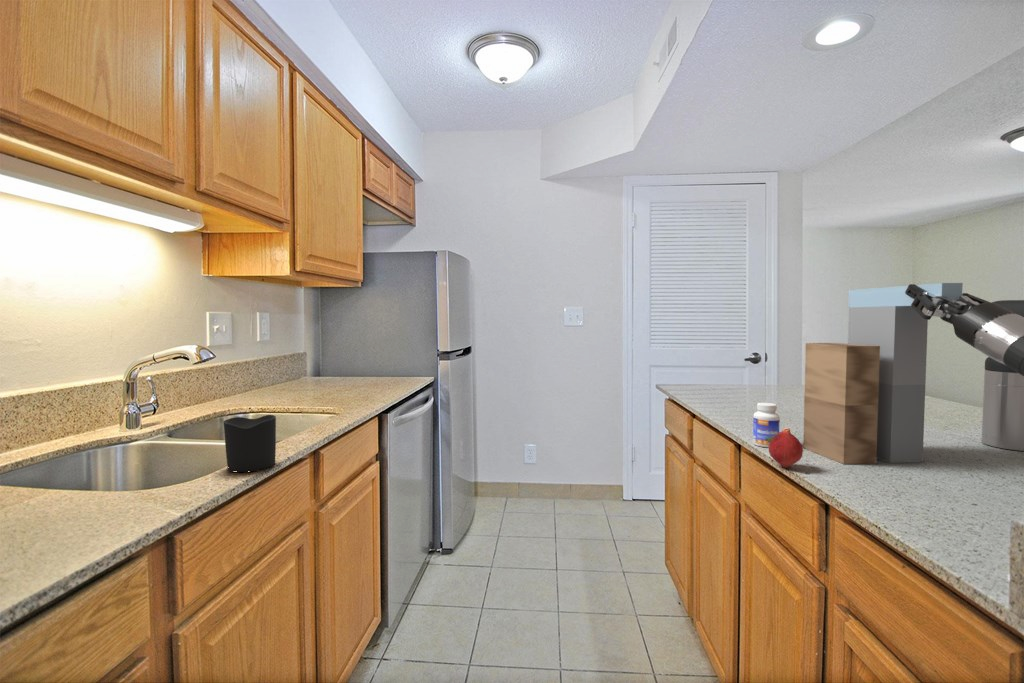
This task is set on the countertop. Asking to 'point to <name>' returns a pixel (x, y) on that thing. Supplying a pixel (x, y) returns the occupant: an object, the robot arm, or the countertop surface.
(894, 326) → the block
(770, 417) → the pill bottle
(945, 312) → the robot arm
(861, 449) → the block
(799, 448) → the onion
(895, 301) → the beam
